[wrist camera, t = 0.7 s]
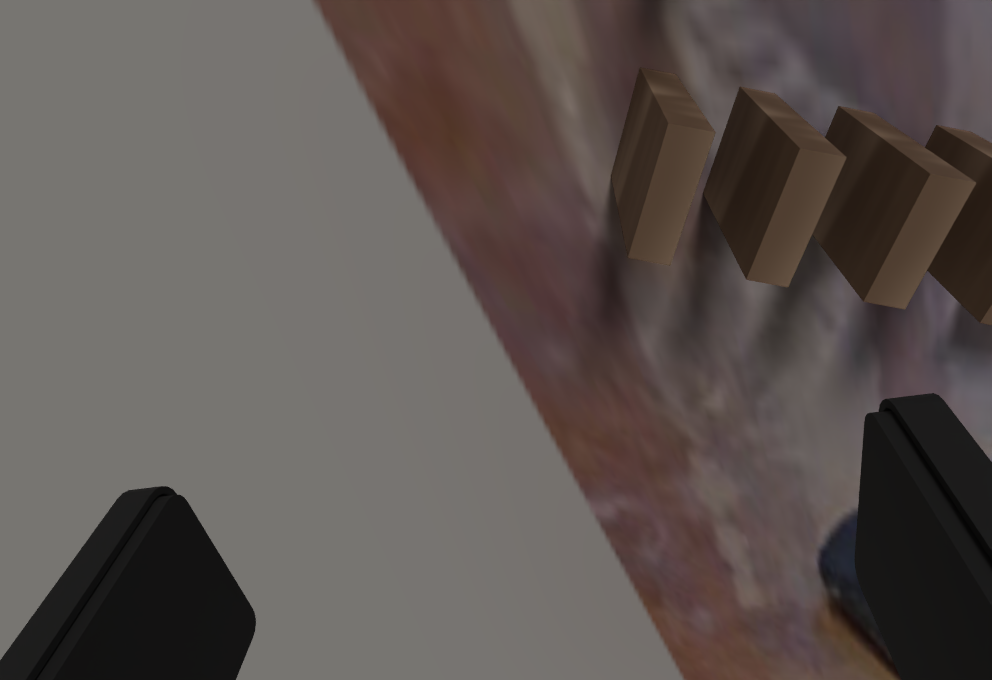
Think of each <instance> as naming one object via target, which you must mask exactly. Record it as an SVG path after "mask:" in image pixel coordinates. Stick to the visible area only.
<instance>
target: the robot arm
mask: <svg viewBox="0 0 992 680" xmlns="http://www.w3.org/2000/svg"><path fill="white" fill-rule="evenodd" d="M855 568H856V573H857V578H858V581H859V584H860V587H861V589H862V592H863V594H864V596H865V598H866V601H867V603H868V605H869V607H870V610H871V612H872V614H873V616H874V619H875V621H876V623H877V625H878V628H879V630H880V632H881V634H882V637H883V639H884V641H885V643H886V646H887V648H888V650H889V652H890V655H891V657H892V659H893V661H894V664H895V666H896V668H897V670H898V673H899V675H900V677H901V679H902V680H992V462H991V461H990V459H989V458H988V457H987V456H986V454H985V453H984V452H983V450H982V449H981V448H980V447H979V445H978V444H977V443H976V441H975V440H974V439H973V438H972V436H971V435H970V434H969V432H968V431H967V430H966V428H965V427H964V426H963V425H962V423H961V422H960V421H959V419H958V418H957V417H956V416H955V414H954V413H953V412H952V410H951V409H950V408H949V407H948V405H947V404H946V403H945V401H944V400H943V399H942V398H941V397H940V396H939V395H937V394H934V393H932V394H923V395H915V396H907V397H898V398H890V399H885V400H882V402H881V404H880V407H879V412H873V413H868V414H867V415H866V417H865V422H864V436H863V450H862V463H861V477H860V491H859V505H858V519H857V532H856V546H855ZM255 626H256V618H255V613H254V611H253V608H252V607H251V605H250V603H249V602H248V600H247V599H246V597H245V595H244V594H243V592H242V590H241V589H240V587H239V586H238V584H237V582H236V580H235V579H234V577H233V576H232V574H231V572H230V571H229V569H228V567H227V566H226V564H225V562H224V561H223V559H222V558H221V556H220V554H219V553H218V551H217V549H216V548H215V546H214V544H213V543H212V541H211V539H210V538H209V536H208V535H207V533H206V531H205V530H204V528H203V526H202V525H201V523H200V522H199V520H198V518H197V517H196V515H195V513H194V512H193V510H192V509H191V507H190V505H189V503H188V502H187V500H186V499H185V498H184V497H183V496H181V495H177V494H176V493H175V491H174V490H173V489H171V488H169V487H166V486H165V487H163V486H161V487H152V488H144V489H137V490H129V491H127V492H125V493H123V494H122V495H121V496H120V497H119V498H118V499H117V500H116V502H115V503H114V504H113V506H112V507H111V508H110V510H109V511H108V513H107V514H106V515H105V517H104V518H103V520H102V521H101V522H100V524H99V525H98V527H97V528H96V529H95V531H94V532H93V533H92V535H91V536H90V538H89V539H88V540H87V542H86V543H85V544H84V546H83V547H82V548H81V550H80V551H79V553H78V554H77V556H76V557H75V558H74V560H73V561H72V562H71V564H70V565H69V566H68V568H67V569H66V571H65V572H64V573H63V575H62V576H61V577H60V579H59V580H58V582H57V583H56V584H55V586H54V587H53V588H52V590H51V591H50V593H49V594H48V595H47V597H46V598H45V600H44V601H43V602H42V604H41V605H40V606H39V608H38V609H37V611H36V612H35V614H34V615H33V616H32V617H31V619H30V620H29V622H28V623H27V624H26V626H25V627H24V628H23V630H22V631H21V633H20V634H19V635H18V637H17V638H16V639H15V641H14V642H13V644H12V645H11V647H10V648H9V649H8V651H7V652H6V653H5V655H4V656H3V657H2V659H1V660H0V680H236V678H237V675H238V673H239V670H240V668H241V665H242V663H243V661H244V658H245V656H246V653H247V651H248V648H249V646H250V643H251V641H252V638H253V635H254V632H255Z"/></svg>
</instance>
